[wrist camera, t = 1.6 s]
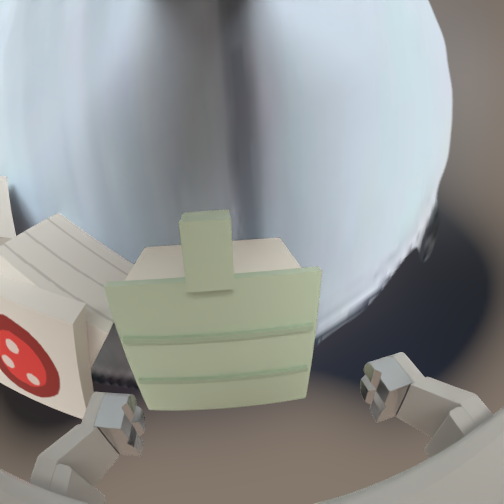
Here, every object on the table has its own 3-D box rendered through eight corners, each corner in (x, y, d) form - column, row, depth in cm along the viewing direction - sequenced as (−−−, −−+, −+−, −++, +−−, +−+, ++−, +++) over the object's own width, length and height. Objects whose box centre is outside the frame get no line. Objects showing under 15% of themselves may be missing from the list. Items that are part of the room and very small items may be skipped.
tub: (144, 247, 35) (118, 290, 24) (279, 237, 37) (307, 276, 26) (164, 342, 41) (155, 399, 30) (277, 333, 43) (296, 388, 32)
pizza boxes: (9, 158, 27) (-76, 179, 10) (160, 266, 36) (127, 356, 20) (-16, 257, 31) (-77, 305, 14) (110, 351, 40) (81, 435, 24)
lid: (101, 221, 23) (86, 231, 20) (315, 205, 25) (329, 214, 22) (151, 395, 31) (148, 415, 28) (300, 384, 34) (307, 403, 30)
